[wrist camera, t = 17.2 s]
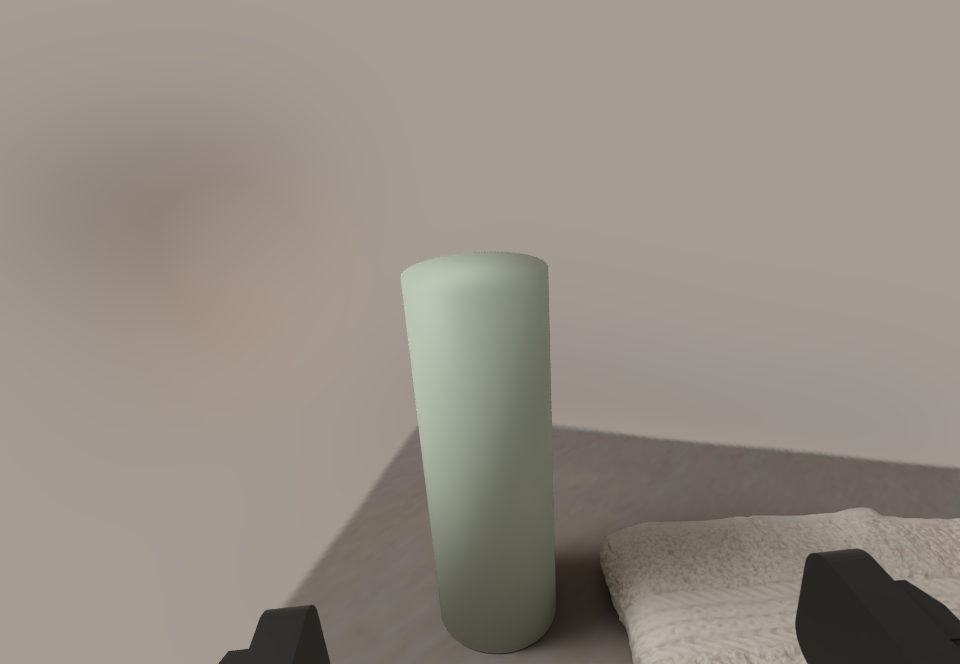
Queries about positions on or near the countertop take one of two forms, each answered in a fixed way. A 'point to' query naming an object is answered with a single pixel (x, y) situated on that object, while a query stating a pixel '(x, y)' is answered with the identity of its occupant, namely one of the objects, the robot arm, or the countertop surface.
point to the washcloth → (755, 579)
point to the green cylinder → (486, 441)
